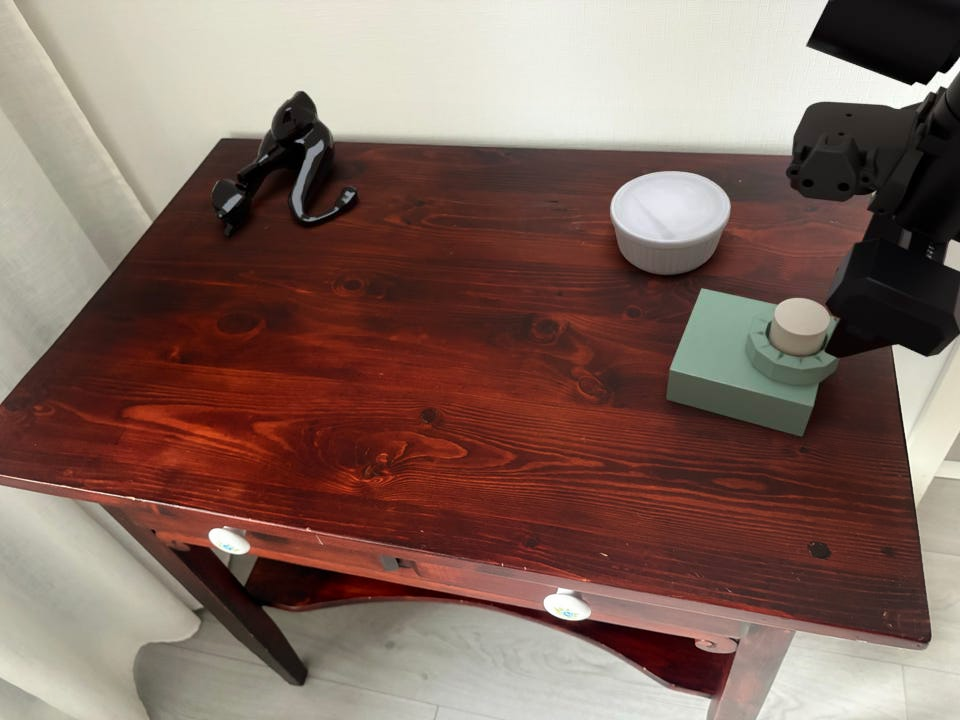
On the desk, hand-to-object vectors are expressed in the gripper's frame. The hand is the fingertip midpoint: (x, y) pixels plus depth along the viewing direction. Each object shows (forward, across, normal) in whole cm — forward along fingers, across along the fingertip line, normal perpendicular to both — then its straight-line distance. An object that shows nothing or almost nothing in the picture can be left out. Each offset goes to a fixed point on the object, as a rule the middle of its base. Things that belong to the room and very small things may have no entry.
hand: (846, 306), depth 51 cm
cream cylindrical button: (+8, -3, -1) cm, 9 cm away
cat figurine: (+27, -9, -54) cm, 61 cm away
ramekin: (+17, -16, -14) cm, 28 cm away
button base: (+14, -3, -2) cm, 15 cm away
